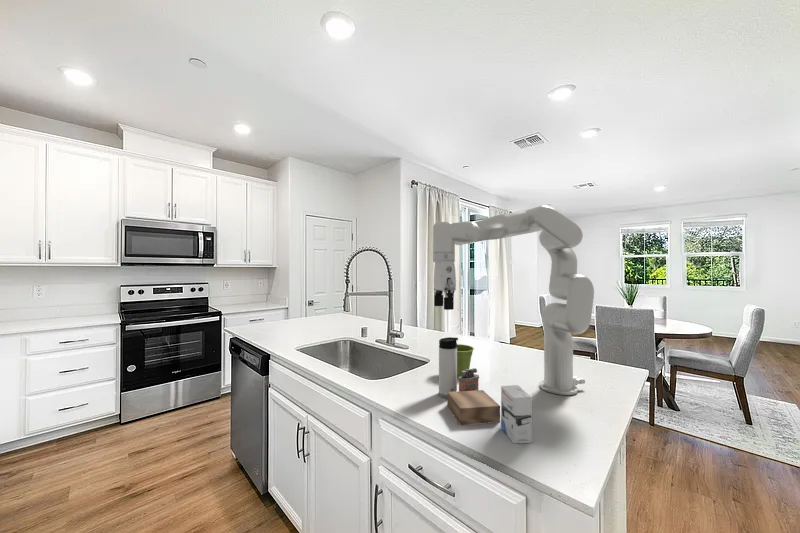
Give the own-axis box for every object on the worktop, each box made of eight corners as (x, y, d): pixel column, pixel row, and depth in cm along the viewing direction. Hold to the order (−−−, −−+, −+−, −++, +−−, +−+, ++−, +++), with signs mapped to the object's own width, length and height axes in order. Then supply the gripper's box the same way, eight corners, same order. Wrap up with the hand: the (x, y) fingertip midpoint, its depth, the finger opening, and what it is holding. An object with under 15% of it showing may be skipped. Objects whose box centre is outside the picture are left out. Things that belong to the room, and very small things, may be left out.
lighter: (462, 402, 104) (462, 372, 104) (456, 399, 107) (456, 369, 107) (481, 398, 107) (481, 368, 107) (474, 394, 110) (474, 366, 110)
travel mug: (457, 399, 106) (457, 340, 106) (438, 397, 108) (438, 339, 108) (457, 392, 112) (458, 336, 113) (439, 390, 114) (439, 335, 114)
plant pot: (440, 371, 135) (440, 345, 135) (465, 368, 139) (465, 343, 139) (453, 380, 124) (453, 352, 124) (479, 377, 128) (479, 350, 128)
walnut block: (482, 405, 103) (482, 390, 103) (500, 423, 91) (500, 405, 91) (447, 407, 101) (447, 392, 101) (460, 426, 89) (460, 408, 89)
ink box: (500, 427, 88) (500, 384, 88) (517, 426, 88) (517, 384, 88) (513, 444, 79) (513, 397, 79) (532, 443, 80) (532, 396, 80)
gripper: (464, 257, 101) (464, 310, 101) (445, 259, 118) (444, 304, 118) (442, 257, 99) (441, 311, 99) (425, 258, 116) (425, 305, 116)
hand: (443, 307), depth 108 cm, fingers open, 9 cm apart
